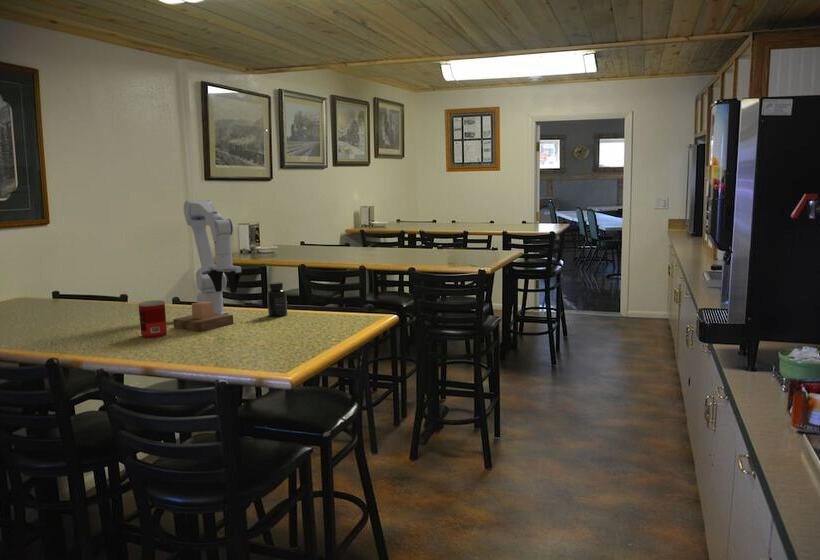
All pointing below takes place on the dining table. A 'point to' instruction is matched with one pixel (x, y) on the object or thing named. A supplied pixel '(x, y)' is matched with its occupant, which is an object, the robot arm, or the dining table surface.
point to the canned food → (152, 319)
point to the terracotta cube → (202, 310)
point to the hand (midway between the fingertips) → (226, 291)
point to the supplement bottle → (276, 300)
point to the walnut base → (203, 322)
